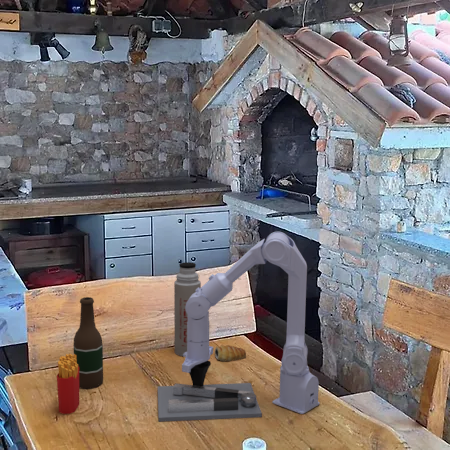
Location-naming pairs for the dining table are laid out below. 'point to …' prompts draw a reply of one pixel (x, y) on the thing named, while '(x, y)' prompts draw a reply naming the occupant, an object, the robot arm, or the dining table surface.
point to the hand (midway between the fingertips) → (198, 388)
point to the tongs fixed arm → (203, 405)
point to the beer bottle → (88, 348)
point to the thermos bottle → (183, 303)
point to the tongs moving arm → (216, 393)
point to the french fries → (68, 384)
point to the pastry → (229, 353)
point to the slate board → (167, 394)
